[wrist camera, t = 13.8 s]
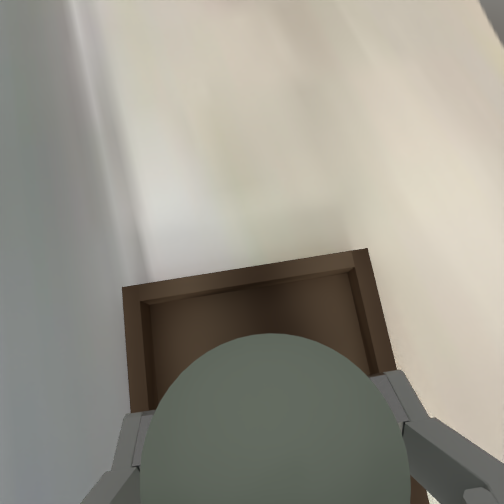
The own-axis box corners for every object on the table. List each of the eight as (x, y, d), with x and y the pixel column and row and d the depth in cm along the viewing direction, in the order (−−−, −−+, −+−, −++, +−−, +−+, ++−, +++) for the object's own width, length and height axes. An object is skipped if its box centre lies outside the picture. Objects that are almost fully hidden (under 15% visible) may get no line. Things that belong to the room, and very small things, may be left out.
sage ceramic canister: (219, 470, 16) (151, 660, 6) (204, 350, 17) (129, 354, 8) (334, 451, 16) (444, 610, 6) (311, 333, 17) (375, 315, 8)
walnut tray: (157, 551, 17) (142, 579, 15) (136, 293, 20) (121, 287, 18) (414, 507, 17) (435, 530, 15) (356, 258, 20) (367, 248, 18)
